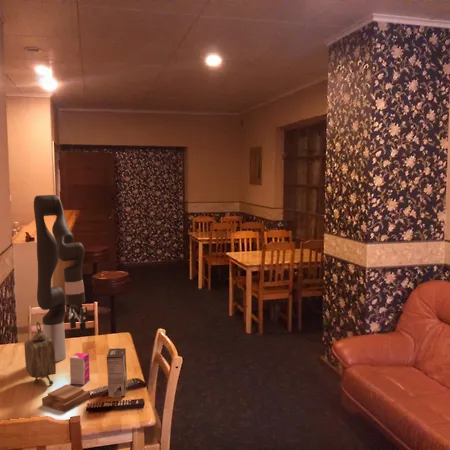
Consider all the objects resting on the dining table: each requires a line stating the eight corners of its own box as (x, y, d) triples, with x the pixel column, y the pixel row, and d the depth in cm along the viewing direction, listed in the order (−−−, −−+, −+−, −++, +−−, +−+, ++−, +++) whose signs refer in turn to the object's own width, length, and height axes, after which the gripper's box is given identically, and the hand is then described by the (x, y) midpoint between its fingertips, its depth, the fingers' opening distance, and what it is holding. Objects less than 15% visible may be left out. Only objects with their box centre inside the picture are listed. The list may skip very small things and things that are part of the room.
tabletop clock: (56, 385, 202) (53, 325, 200) (33, 391, 197) (29, 329, 195) (48, 373, 214) (44, 316, 212) (26, 378, 210) (22, 320, 207)
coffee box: (111, 387, 199) (109, 348, 197) (127, 386, 200) (126, 347, 198) (108, 398, 190) (106, 356, 188) (125, 397, 191) (123, 356, 189)
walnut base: (42, 404, 186) (41, 394, 185) (67, 392, 196) (66, 382, 195) (65, 411, 180) (65, 401, 179) (89, 398, 190) (89, 388, 190)
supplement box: (83, 386, 201) (82, 358, 200) (70, 385, 202) (68, 357, 201) (90, 380, 207) (89, 353, 206) (77, 379, 208) (75, 352, 207)
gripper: (58, 291, 208) (61, 329, 210) (74, 295, 198) (78, 335, 200) (74, 287, 213) (78, 324, 215) (91, 291, 203) (95, 330, 205)
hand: (78, 330), depth 207 cm, fingers open, 8 cm apart
